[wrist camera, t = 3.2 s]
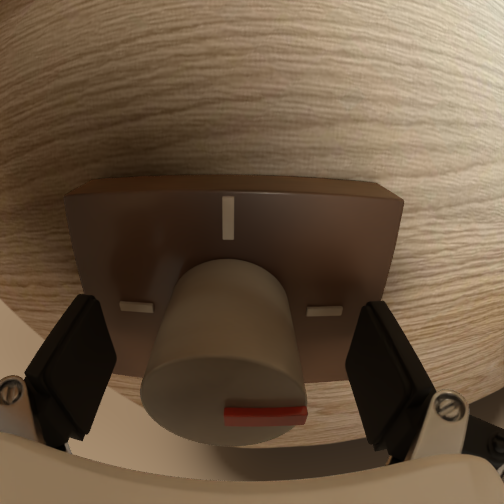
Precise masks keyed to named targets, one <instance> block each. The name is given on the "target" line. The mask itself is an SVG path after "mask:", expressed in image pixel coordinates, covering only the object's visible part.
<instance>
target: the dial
mask: <svg viewBox="0 0 504 504" xmlns="http://www.w3.org/2000/svg"><path fill="white" fill-rule="evenodd" d="M140 397H141V401H142V404H143V406H144V408H145V410H146V411H147V413H148V414H149V415H150V416H151V418H152V419H153V420H154V421H156V422H157V423H158V424H159V425H160V426H162V427H163V428H165V429H166V430H168V431H170V432H172V433H174V434H176V435H178V436H180V437H183V438H185V439H188V440H192V441H195V442H198V443H203V444H208V445H216V446H245V445H253V444H258V443H262V442H265V441H269V440H272V439H274V438H277V437H279V436H281V435H283V434H285V433H286V432H288V431H289V430H291V429H292V428H293V427H295V426H296V425H304V424H305V422H306V418H307V415H308V412H307V394H306V389H305V384H304V378H303V373H302V368H301V363H300V357H299V352H298V347H297V342H296V337H295V332H294V327H293V322H292V317H291V312H290V307H289V302H288V298H287V295H286V292H285V290H284V288H283V287H282V285H281V284H280V282H279V281H278V280H277V279H276V278H275V277H274V276H273V275H272V274H270V273H269V272H268V271H266V270H265V269H263V268H262V267H260V266H257V265H255V264H253V263H250V262H247V261H242V260H237V259H218V260H212V261H208V262H205V263H202V264H200V265H197V266H195V267H194V268H192V269H190V270H189V271H188V272H186V273H185V274H184V275H183V276H182V277H181V278H180V279H179V280H178V282H177V283H176V285H175V287H174V289H173V291H172V294H171V297H170V300H169V302H168V305H167V308H166V311H165V314H164V316H163V319H162V322H161V325H160V328H159V331H158V334H157V337H156V340H155V343H154V346H153V349H152V352H151V355H150V358H149V361H148V364H147V367H146V370H145V374H144V377H143V380H142V383H141V388H140Z"/></svg>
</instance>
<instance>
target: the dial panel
mask: <svg viewBox="0 0 504 504" xmlns="http://www.w3.org/2000/svg"><path fill="white" fill-rule="evenodd" d="M64 204H65V211H66V216H67V222H68V227H69V233H70V237H71V242H72V247H73V251H74V256H75V260H76V264H77V268H78V272H79V276H80V280H81V283H82V287H83V291H84V294H85V295H93V296H94V297H95V298H96V300H99V302H100V305H101V308H102V312H103V315H104V318H105V322H106V325H107V328H108V331H109V334H110V337H111V340H112V343H113V346H114V349H115V352H116V355H117V361H116V365H115V367H114V369H113V372H112V373H113V374H118V375H125V376H132V377H140V378H143V377H144V374H145V370H146V367H147V364H148V361H149V358H150V355H151V352H152V349H153V346H154V343H155V340H156V337H157V334H158V331H159V328H160V325H161V322H162V319H163V316H164V314H165V311H166V308H167V305H168V302H169V300H170V297H171V294H172V291H173V289H174V287H175V285H176V283H177V282H178V280H179V279H180V278H181V277H182V276H183V275H184V274H185V273H186V272H188V271H189V270H190V269H192V268H194V267H195V266H197V265H200V264H202V263H205V262H208V261H212V260H218V259H237V260H242V261H247V262H250V263H253V264H255V265H257V266H260V267H262V268H263V269H265V270H266V271H268V272H269V273H270V274H272V275H273V276H274V277H275V278H276V279H277V280H278V281H279V282H280V284H281V285H282V287H283V288H284V290H285V292H286V295H287V298H288V302H289V307H290V312H291V317H292V322H293V327H294V332H295V337H296V342H297V347H298V352H299V357H300V363H301V368H302V373H303V378H304V383H318V382H331V381H343V380H349V379H348V375H347V372H346V369H345V361H346V357H347V354H348V351H349V348H350V345H351V341H352V338H353V335H354V332H355V328H356V325H357V321H358V318H359V314H360V311H361V308H362V306H366V303H367V302H369V301H381V299H382V295H383V292H384V288H385V284H386V281H387V277H388V273H389V269H390V266H391V262H392V258H393V253H394V249H395V245H396V240H397V236H398V231H399V226H400V221H401V216H402V211H403V206H404V200H403V199H401V198H400V197H398V196H397V195H395V194H394V193H392V192H391V191H389V190H387V189H386V188H384V187H382V186H381V185H379V184H378V183H372V182H362V181H351V180H339V179H325V178H310V177H292V176H268V175H159V176H136V177H119V178H104V179H93V180H91V181H89V182H87V183H85V184H84V185H82V186H80V187H78V188H76V189H74V190H73V191H71V192H69V193H67V194H65V195H64Z"/></svg>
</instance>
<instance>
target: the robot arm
mask: <svg viewBox="0 0 504 504" xmlns="http://www.w3.org/2000/svg"><path fill="white" fill-rule="evenodd" d="M116 361H117V355H116V352H115V349H114V346H113V343H112V340H111V337H110V334H109V331H108V328H107V325H106V322H105V318H104V315H103V312H102V308H101V305H100V302H99V300H96V298H95V297H94V296H93V295H85V294H79V295H77V297H76V298H75V299H74V300H73V302H72V303H71V305H70V306H69V307H68V309H67V310H66V311H65V313H64V314H63V315H62V317H61V318H60V320H59V321H58V322H57V324H56V325H55V327H54V328H53V330H52V331H51V332H50V334H49V335H48V337H47V338H46V340H45V341H44V343H43V344H42V346H41V347H40V349H39V350H38V352H37V353H36V355H35V357H34V358H33V359H32V361H31V363H30V365H29V366H28V368H27V369H26V371H25V375H26V377H25V379H24V380H23V379H22V378H21V377H19V376H15V375H11V376H7V377H5V378H3V379H1V380H0V504H504V429H502V428H500V427H497V426H495V425H492V424H490V423H488V422H486V421H483V420H481V419H479V418H476V417H474V416H472V415H470V414H469V405H468V402H467V401H466V399H465V398H464V397H463V396H462V395H461V394H460V393H458V392H456V391H454V390H449V389H444V390H440V391H437V392H436V390H435V388H434V386H433V384H432V382H431V380H430V378H429V376H428V375H427V373H426V371H425V369H424V367H423V365H422V364H421V362H420V360H419V358H418V356H417V355H416V353H415V351H414V349H413V348H412V346H411V344H410V343H409V341H408V339H407V337H406V336H405V334H404V332H403V331H402V329H401V327H400V326H399V324H398V322H397V321H396V319H395V317H394V316H393V314H392V313H391V311H390V309H389V308H388V306H387V305H386V303H385V302H384V301H369V302H367V303H366V306H362V308H361V311H360V314H359V318H358V321H357V325H356V328H355V332H354V335H353V338H352V341H351V345H350V348H349V351H348V354H347V357H346V361H345V369H346V372H347V375H348V379H349V382H350V385H351V388H352V391H353V394H354V397H355V401H356V404H357V407H358V410H359V414H360V417H361V420H362V424H363V427H364V430H365V434H366V437H367V440H368V443H369V444H373V446H374V450H375V451H379V450H384V449H387V450H388V454H389V455H390V456H389V458H388V460H387V462H386V464H385V466H384V467H379V468H375V469H369V470H364V471H358V472H352V473H347V474H340V475H334V476H327V477H319V478H309V479H298V480H283V481H253V482H252V481H247V482H246V481H215V480H201V479H189V478H180V477H172V476H165V475H159V474H153V473H147V472H141V471H136V470H131V469H126V468H121V467H117V466H113V465H109V464H105V463H101V462H97V461H93V460H90V459H87V458H83V457H80V456H77V455H73V454H72V453H71V450H70V448H69V445H68V440H69V437H71V438H73V439H77V440H81V441H83V439H84V436H85V434H88V433H89V431H90V429H91V426H92V423H93V421H94V418H95V415H96V413H97V410H98V407H99V405H100V402H101V399H102V397H103V394H104V392H105V389H106V387H107V384H108V382H109V379H110V377H111V374H112V372H113V369H114V367H115V365H116Z"/></svg>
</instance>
